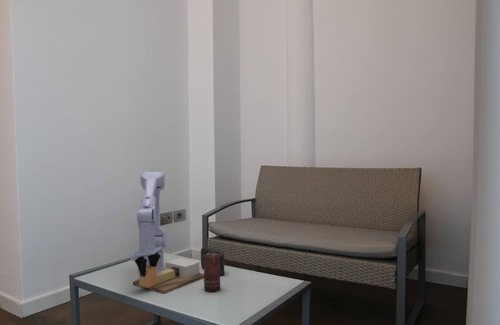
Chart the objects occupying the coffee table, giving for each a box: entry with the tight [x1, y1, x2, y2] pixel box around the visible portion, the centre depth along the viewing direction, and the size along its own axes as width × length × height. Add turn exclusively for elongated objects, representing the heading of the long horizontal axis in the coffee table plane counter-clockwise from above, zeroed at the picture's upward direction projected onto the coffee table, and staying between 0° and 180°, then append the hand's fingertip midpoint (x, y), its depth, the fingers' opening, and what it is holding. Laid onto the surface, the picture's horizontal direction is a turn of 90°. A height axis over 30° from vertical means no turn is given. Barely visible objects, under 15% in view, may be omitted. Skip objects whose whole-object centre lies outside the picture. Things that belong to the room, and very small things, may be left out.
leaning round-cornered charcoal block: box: [200, 246, 225, 276], centre depth 178 cm, size 16×5×9 cm, turn 40°
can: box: [203, 252, 221, 293], centre depth 155 cm, size 6×6×14 cm
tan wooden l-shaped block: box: [138, 265, 175, 288], centre depth 160 cm, size 5×14×7 cm, turn 144°
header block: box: [164, 257, 201, 279], centre depth 171 cm, size 12×8×5 cm, turn 54°
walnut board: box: [132, 272, 204, 294], centre depth 165 cm, size 18×23×1 cm
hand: (147, 274), depth 156 cm, fingers closed on tan wooden l-shaped block, 4 cm apart
